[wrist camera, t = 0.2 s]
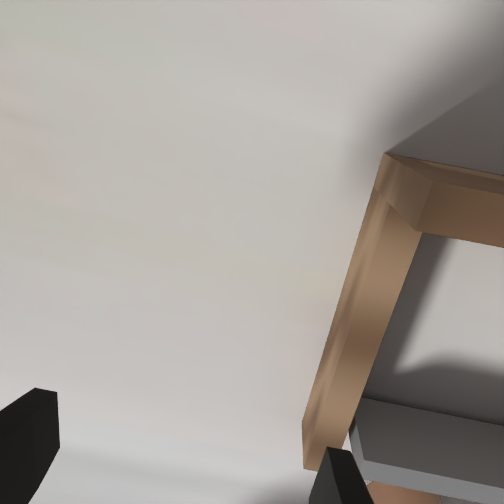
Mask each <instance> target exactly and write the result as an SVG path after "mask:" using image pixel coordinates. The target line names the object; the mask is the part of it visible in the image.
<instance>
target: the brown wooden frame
mask: <svg viewBox="0 0 504 504" xmlns="http://www.w3.org/2000/svg"><path fill="white" fill-rule="evenodd" d="M422 232H424V233H429V234H434V235H440V236H445V237H450V238H455V239H460V240H466V241H471V242H476V243H481V244H486V245H492V246H497V247H502V248H504V176H503V175H498V174H493V173H487V172H482V171H477V170H471V169H466V168H461V167H455V166H450V165H445V164H439V163H434V162H429V161H423V160H418V159H413V158H407V157H402V156H397V155H392V154H386V153H384V154H383V157H382V160H381V164H380V167H379V170H378V174H377V177H376V180H375V183H374V187H373V190H372V193H371V197H370V200H369V203H368V207H367V210H366V213H365V216H364V220H363V223H362V226H361V230H360V233H359V236H358V239H357V243H356V246H355V249H354V253H353V256H352V259H351V263H350V266H349V269H348V272H347V276H346V279H345V282H344V286H343V289H342V292H341V295H340V299H339V302H338V305H337V309H336V312H335V315H334V319H333V322H332V325H331V328H330V332H329V335H328V338H327V342H326V345H325V348H324V351H323V355H322V358H321V361H320V365H319V368H318V371H317V375H316V378H315V381H314V384H313V388H312V391H311V394H310V398H309V401H308V404H307V407H306V411H305V414H304V417H303V421H302V440H303V467H304V469H307V470H312V471H317V472H318V470H319V467H320V465H321V462H322V459H323V456H324V453H325V450H326V447H327V446H328V447H333V448H338V449H342V446H343V443H344V441H345V438H346V435H347V433H348V430H349V427H350V425H351V422H352V419H353V417H354V414H355V411H356V409H357V406H358V403H359V401H360V398H361V395H362V393H363V390H364V387H365V385H366V382H367V379H368V376H369V374H370V371H371V368H372V366H373V363H374V360H375V358H376V355H377V352H378V350H379V347H380V344H381V342H382V339H383V336H384V334H385V331H386V328H387V326H388V323H389V320H390V318H391V315H392V312H393V310H394V307H395V304H396V302H397V299H398V296H399V294H400V291H401V288H402V286H403V283H404V280H405V278H406V275H407V272H408V270H409V267H410V264H411V262H412V259H413V256H414V254H415V251H416V248H417V246H418V243H419V240H420V238H421V235H422Z"/></svg>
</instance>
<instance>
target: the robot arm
mask: <svg viewBox="0 0 504 504" xmlns="http://www.w3.org/2000/svg"><path fill="white" fill-rule="evenodd" d="M59 448H60V439H59V419H58V400H57V392H54V391H49V390H44V389H39V388H34V389H32V390H31V391H29V392H27V393H26V394H24V395H23V396H21V397H20V398H18V399H17V400H15V401H14V402H13V403H11V404H10V405H8V406H7V407H5V408H4V409H2V410H1V411H0V504H28V503H29V501H30V500H31V498H32V497H33V495H34V494H35V492H36V491H37V489H38V488H39V486H40V484H41V482H42V480H43V478H44V477H45V475H46V473H47V471H48V469H49V467H50V465H51V463H52V462H53V460H54V458H55V456H56V454H57V452H58V450H59ZM309 504H374V501H373V499H372V497H371V495H370V493H369V491H368V488H367V486H366V484H365V482H364V480H363V477H362V475H361V473H360V470H359V468H358V466H357V464H356V461H355V459H354V456H353V455H352V453H351V452H350V451H348V450H343V449H338V448H333V447H328V446H327V447H326V450H325V453H324V456H323V459H322V462H321V465H320V467H319V470H318V473H317V476H316V479H315V482H314V485H313V488H312V491H311V494H310V497H309Z"/></svg>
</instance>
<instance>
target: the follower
mask: <svg viewBox="0 0 504 504" xmlns="http://www.w3.org/2000/svg"><path fill="white" fill-rule="evenodd" d="M348 432H349V438H350V443H351V449H352V455H353V456H354V459H355V461H356V464H357V466H358V468H359V470H360V473H361V475H362V477H363V479H365V480H370V481H375V482H379V483H384V484H389V485H394V486H399V487H404V488H409V489H413V490H418V491H423V492H428V493H433V494H438V495H442V496H447V497H452V498H457V499H462V500H467V501H471V502H476V503H481V504H504V426H501V425H496V424H491V423H486V422H481V421H476V420H471V419H466V418H461V417H456V416H451V415H446V414H441V413H436V412H431V411H426V410H421V409H416V408H411V407H407V406H402V405H397V404H392V403H387V402H382V401H377V400H372V399H367V398H362V397H361V398H360V401H359V403H358V406H357V409H356V411H355V414H354V417H353V419H352V422H351V425H350V427H349V430H348Z"/></svg>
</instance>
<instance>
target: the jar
mask: <svg viewBox="0 0 504 504" xmlns="http://www.w3.org/2000/svg"><path fill="white" fill-rule="evenodd" d="M367 488H368V491H369V493H370V495H371V497H372V499H373V501H374V504H442V503H441V500H440V497H439V495H438V494H433V493H428V492H423V491H418V490H413V489H409V488H404V487H399V486H394V485H389V484H384V483H379V482H375V481H372V482H371V483H369V484H368V485H367Z"/></svg>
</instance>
